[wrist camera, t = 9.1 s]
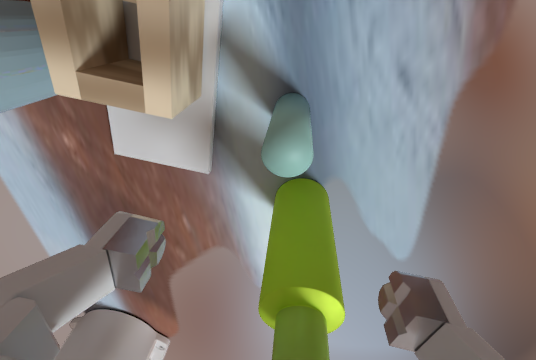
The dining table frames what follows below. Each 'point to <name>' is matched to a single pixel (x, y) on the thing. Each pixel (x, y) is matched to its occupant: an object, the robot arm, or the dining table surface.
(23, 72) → the bottle
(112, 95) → the block
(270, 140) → the dowel
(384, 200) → the dining table surface
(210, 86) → the grey l-shaped tray
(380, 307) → the robot arm
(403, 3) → the dining table surface
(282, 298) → the soap dispenser
